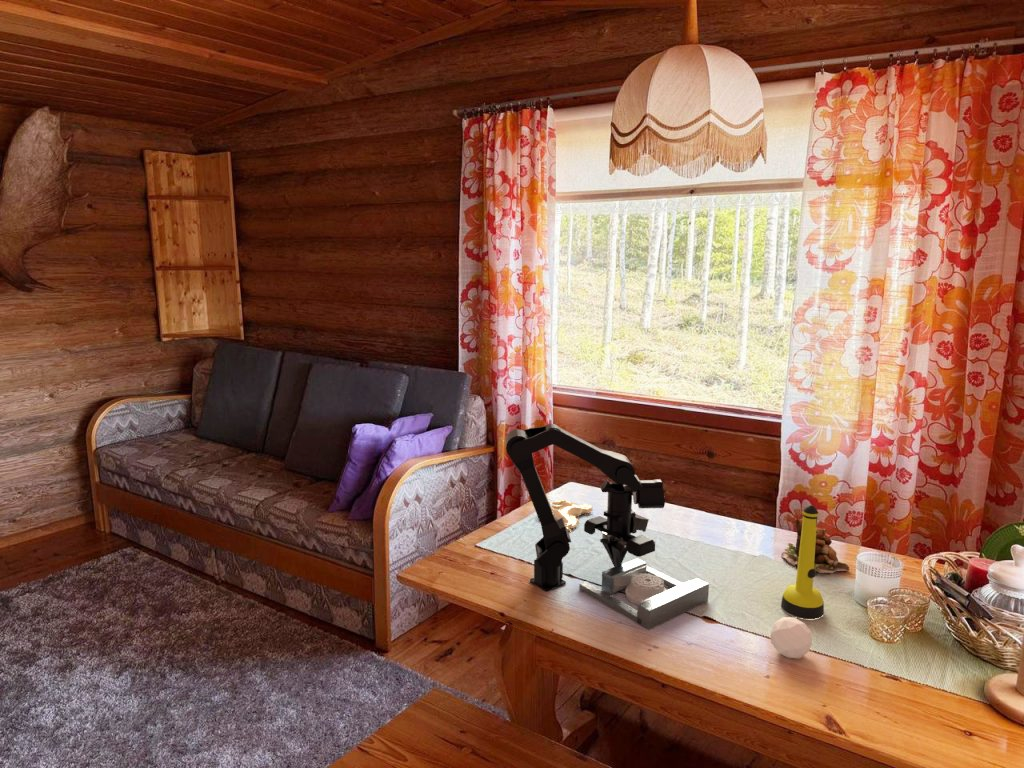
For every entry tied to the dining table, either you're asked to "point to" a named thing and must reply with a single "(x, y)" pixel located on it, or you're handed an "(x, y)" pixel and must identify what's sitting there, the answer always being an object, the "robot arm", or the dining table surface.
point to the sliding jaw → (622, 575)
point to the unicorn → (569, 512)
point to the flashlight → (805, 574)
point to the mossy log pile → (816, 552)
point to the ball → (791, 637)
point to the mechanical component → (644, 587)
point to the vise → (656, 600)
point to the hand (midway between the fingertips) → (617, 568)
